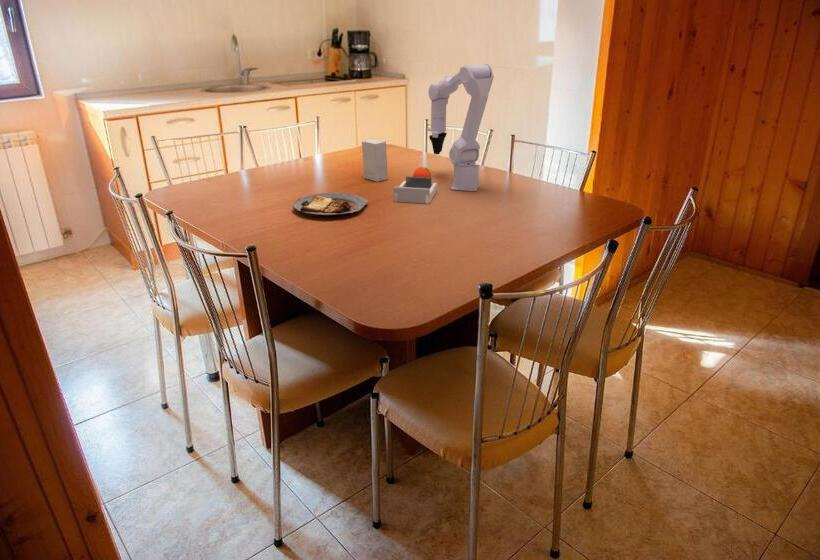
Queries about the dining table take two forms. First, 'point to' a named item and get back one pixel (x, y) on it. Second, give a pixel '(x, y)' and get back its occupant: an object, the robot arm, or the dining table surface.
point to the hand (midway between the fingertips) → (437, 152)
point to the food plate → (321, 202)
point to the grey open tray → (414, 194)
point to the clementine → (422, 172)
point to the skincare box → (375, 160)
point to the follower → (418, 182)
